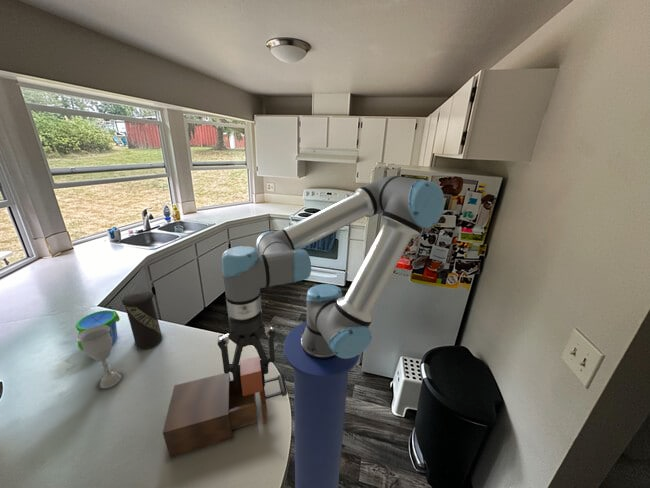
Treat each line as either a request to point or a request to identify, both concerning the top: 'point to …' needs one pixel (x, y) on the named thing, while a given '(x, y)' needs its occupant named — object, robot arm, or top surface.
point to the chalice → (99, 351)
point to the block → (251, 376)
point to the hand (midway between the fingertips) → (252, 384)
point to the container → (142, 318)
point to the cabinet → (198, 415)
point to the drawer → (249, 403)
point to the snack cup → (99, 323)
